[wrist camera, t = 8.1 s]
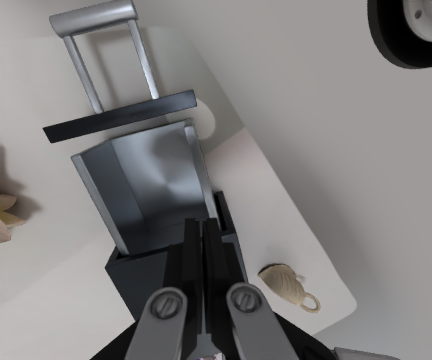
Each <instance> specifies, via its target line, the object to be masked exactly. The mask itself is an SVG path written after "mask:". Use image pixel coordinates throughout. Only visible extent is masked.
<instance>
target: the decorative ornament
mask: <svg viewBox="0 0 432 360" xmlns="http://www.w3.org/2000/svg"><path fill="white" fill-rule="evenodd" d="M258 276H259V277H260V278H261V279H262V280H263V281H264V282H265V284H266V285H267V286H268V287H269V288H270V289H271V290H272V291H273V292H274V293H275V294H277V295H278V296H280V297H281V298H283V299H285V300H287V301H288V302H291V303H293V304H296V305H300V306H301V307H302V308H303V309H304V310H306V311H308V312H310V313H316V312H318V311H319V310H320V303H319V301H318V300H317V299H316V298H315V297H314V296H313V295H311V294H309V293H306V292H305V291H304V289H303V287H302V285H301V284H300V282H299V281H298V280H297V279H296V276H295V274H294V272H293V271H292V269H291V268H290V267H288V266H285V265H283V264H281V265H278V266H277V265H275V266H273V267H269V268H267V269H266V270H264V271H263V272H261V273H260V274H259V275H258ZM305 296H306V297H309V298H311V299H313V300H314V301H315V303H316V305H317V307H316V308H315V309H310V308H307V307H306V306H304V305H303V304H302V303H303V302H304V299H305Z"/></svg>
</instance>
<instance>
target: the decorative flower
mask: <svg viewBox="0 0 432 360" xmlns="http://www.w3.org/2000/svg"><path fill="white" fill-rule="evenodd" d="M15 201H16V197H15V196H10V195H3V194H0V243H2V242H6V241H9V240H11V234H10V232H9V230H8V227H13V226H18V225H22V224H24V223H26V221H24V220H23V219H21V218H18V217H16V216H13V215H11V214H9V213H6V212H4V211H3V210H6V209H9V208H10V207H12V206H13V205H14V203H15Z"/></svg>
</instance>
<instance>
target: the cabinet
mask: <svg viewBox="0 0 432 360" xmlns="http://www.w3.org/2000/svg"><path fill="white" fill-rule="evenodd" d="M213 195H214V199H215V203H216V207H217V210H218V214H219V218H220V222H221V226H222V232H220V233H221V238H222V242H233V243H234V246H235V250H236V253H237V256H238V260H239V263H240V266H241V270H242V273H243V277H244V280H245V283H249V282H248V278H247V274H246V270H245V266H244V262H243V258H242V253H241V249H240V245H239V241H238V237H237V233H236V230H235V227H234V224H233V221H232V218H231V215H230V212H229V209H228V206H227V203H226V200H225V197H224V194H223V191H220V192H216V193H213ZM177 244H184V242H181V243H177ZM168 247H169V246H166V247H162V248H158V249H155V250H151V251H147V252H144V253H140V254H136V255H132V256H129V257H125V258H123V257H122V255H121V253H120V251H119V249H118V247H117V246H116V247H115V248H114V250H113V252H112V254H111V256H110V258H109V260H108V262H107V264H106V266H105V270H106V271H107V273H108V275H109V276H110V278H111V280H112V282H113V283H114V285H115V287H116V289H117V290H118V292H119V294H120V295H121V297H122V299H123V301H124V302H125V304H126V306H127V307H128V309H129V311H130V313H131V314H132V316H133V318H134V319H135V321H137V320H138V319H139V318H140V317H141V315H142V313H143V310H144V307H145V305H146V302H147V301H148V299H149V297H150V296H151V295H152V294H153V293H154V292H155V291H157V290H159V289H161V288H162V285H163V279H164V272H165V266H166V260H167V253H168ZM201 252H202V237H201ZM218 353H222V352H221V351H220V350H218V349H217V348H216V347H215V346H214V343H211V334H206V329H205V313H204V297H203V308H202V334H201V335H197V347H196V349H195V350H194V351H193V352H192V353H191V355H190V356H189V357H188V360H196V359H200V358H204V357H207V356H211V355H214V354H218Z"/></svg>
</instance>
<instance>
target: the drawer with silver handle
mask: <svg viewBox="0 0 432 360" xmlns="http://www.w3.org/2000/svg"><path fill="white" fill-rule="evenodd" d="M136 20H138V15H137V12H136V8H135V5H134V3H133V0H113V1H109V2H105V3H101V4H97V5H93V6H88V7H84V8H80V9H76V10H72V11H68V12H64V13H60V14H56V15H52V16H50V17H49V21H50V24H51V26H52V28H53V29H54V31H55V32H56V34H57V35H58V36H59V37H60V38H62V39H63V40H64V43H65V45H66V47H67V49H68V52H69V54H70V56H71V59H72V61H73V63H74V65H75V68H76V70H77V72H78V75H79V77H80V79H81V81H82V84H83V86H84V88H85V91H86V93H87V95H88V97H89V100H90V102H91V104H92V106H93V109H94V111H95V113H96V114H95V115H91V116H87V117H83V118H79V119H75V120H71V121H67V122H63V123H59V124H56V125H52V126H48V127H44V128H43V130H44V132H45V134H46V136H47V138H48V139H49V141H50V143H56V142H59V141H63V140H67V139H71V138H75V137H79V136H83V135H87V134H91V133H94V132H98V131H102V130H106V129H110V128H114V127H118V126H122V125H126V124H130V123H133V122H137V121H141V120H145V119H149V118H153V117H157V116H161V115H165V114H168V113H172V112H176V111H180V110H184V109H188V108H192V107H196V106H197V103H196V99H195V95H194V91H193V90H189V91H185V92H181V93H177V94H173V95H169V96H165V97H161V98H160V95H159V92H158V89H157V85H156V82H155V79H154V76H153V73H152V70H151V66H150V63H149V60H148V57H147V54H146V50H145V47H144V44H143V41H142V38H141V35H140V31H139V28H138V25H137V22H136ZM124 23H128V26H129V29H130V32H131V35H132V38H133V41H134V44H135V47H136V50H137V53H138V56H139V59H140V62H141V65H142V68H143V71H144V74H145V77H146V80H147V83H148V86H149V89H150V92H151V96H152V99H153V100H150V101H146V102H142V103H138V104H134V105H130V106H126V107H122V108H118V109H114V110H110V111H106V112H105V111H104V109H103V107H102V104H101V102H100V100H99V97H98V95H97V92H96V90H95V88H94V85H93V83H92V81H91V78H90V76H89V73H88V71H87V69H86V66H85V64H84V62H83V59H82V57H81V54H80V52H79V50H78V47H77V45H76V43H75V40H74V38H73V37H72V36H76V35H80V34H84V33H88V32H92V31H96V30H100V29H104V28H108V27H112V26H116V25H120V24H124ZM70 158H71V160H72V162H73V163H74V165H75V167H76V169H77V171H78V173H79V175H80V177H81V179H82V181H83V183H84V184H85V186H86V188H87V190H88V192H89V194H90V196H91V198H92V200H93V202H94V204H95V205H96V207H97V209H98V211H99V213H100V215H101V217H102V219H103V221H104V223H105V225H106V226H107V228H108V230H109V232H110V234H111V236H112V238H113V240H114V242H115V244H116V246H117V247H118V249H119V251H120V253H121V255H122V257H123V258H125V257H129V256H132V255H136V254H140V253H144V252H147V251H151V250H155V249H158V248H162V247H166V246H169V244H177V243H181V242H184V226H185V218H195V221H200V236H201V237H202V223H203V221H206V219H207V218H217V220H218V224H219V229H220V232H222V226H221V222H220V218H219V214H218V210H217V207H216V203H215V199H214V195H213V192H212V188H211V184H210V181H209V177H208V173H207V169H206V166H205V162H204V158H203V155H202V151H201V147H200V143H199V140H198V136H197V132H196V129H195V125H194V121H193V118H191V119H187V120H183V121H179V122H175V123H171V124H168V125H164V126H160V127H156V128H152V129H148V130H144V131H140V132H137V133H133V134H129V135H125V136H121V137H117V138H113V139H109V140H106V141H103V142H101V143H99V144H97V145H95V146H93V147H91V148H88V149H86V150H84V151H82V152H80V153H78V154H76V155H73V156H71V157H70Z"/></svg>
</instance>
